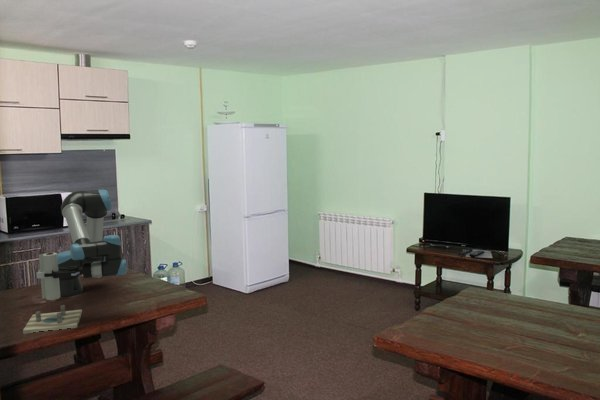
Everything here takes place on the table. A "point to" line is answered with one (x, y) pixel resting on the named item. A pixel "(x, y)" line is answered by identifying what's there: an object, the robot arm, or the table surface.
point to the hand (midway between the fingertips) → (37, 274)
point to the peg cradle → (53, 320)
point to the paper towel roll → (49, 283)
